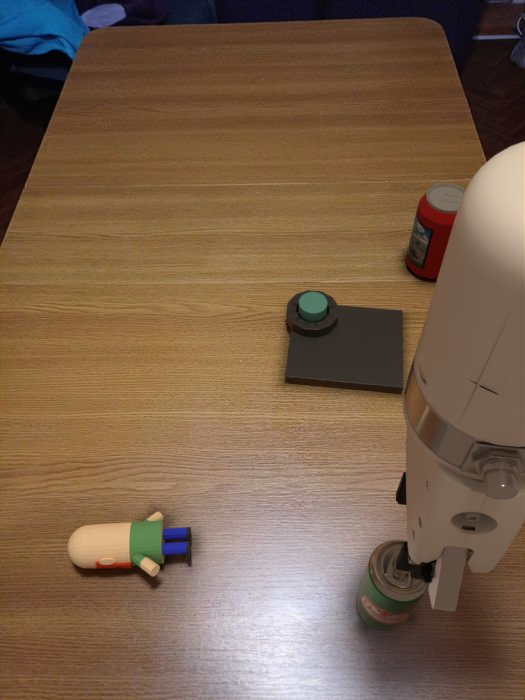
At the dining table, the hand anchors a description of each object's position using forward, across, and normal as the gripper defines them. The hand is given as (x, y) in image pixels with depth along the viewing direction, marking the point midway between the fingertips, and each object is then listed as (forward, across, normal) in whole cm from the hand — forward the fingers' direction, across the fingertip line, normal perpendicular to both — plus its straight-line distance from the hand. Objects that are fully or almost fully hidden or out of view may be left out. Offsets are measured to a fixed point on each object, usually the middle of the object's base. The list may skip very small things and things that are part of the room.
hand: (418, 532), depth 44 cm
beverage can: (+20, +46, -6) cm, 51 cm away
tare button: (+17, +34, +10) cm, 39 cm away
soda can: (+20, 0, 0) cm, 20 cm away
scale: (+19, +30, +5) cm, 36 cm away
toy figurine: (+20, +2, +25) cm, 32 cm away
